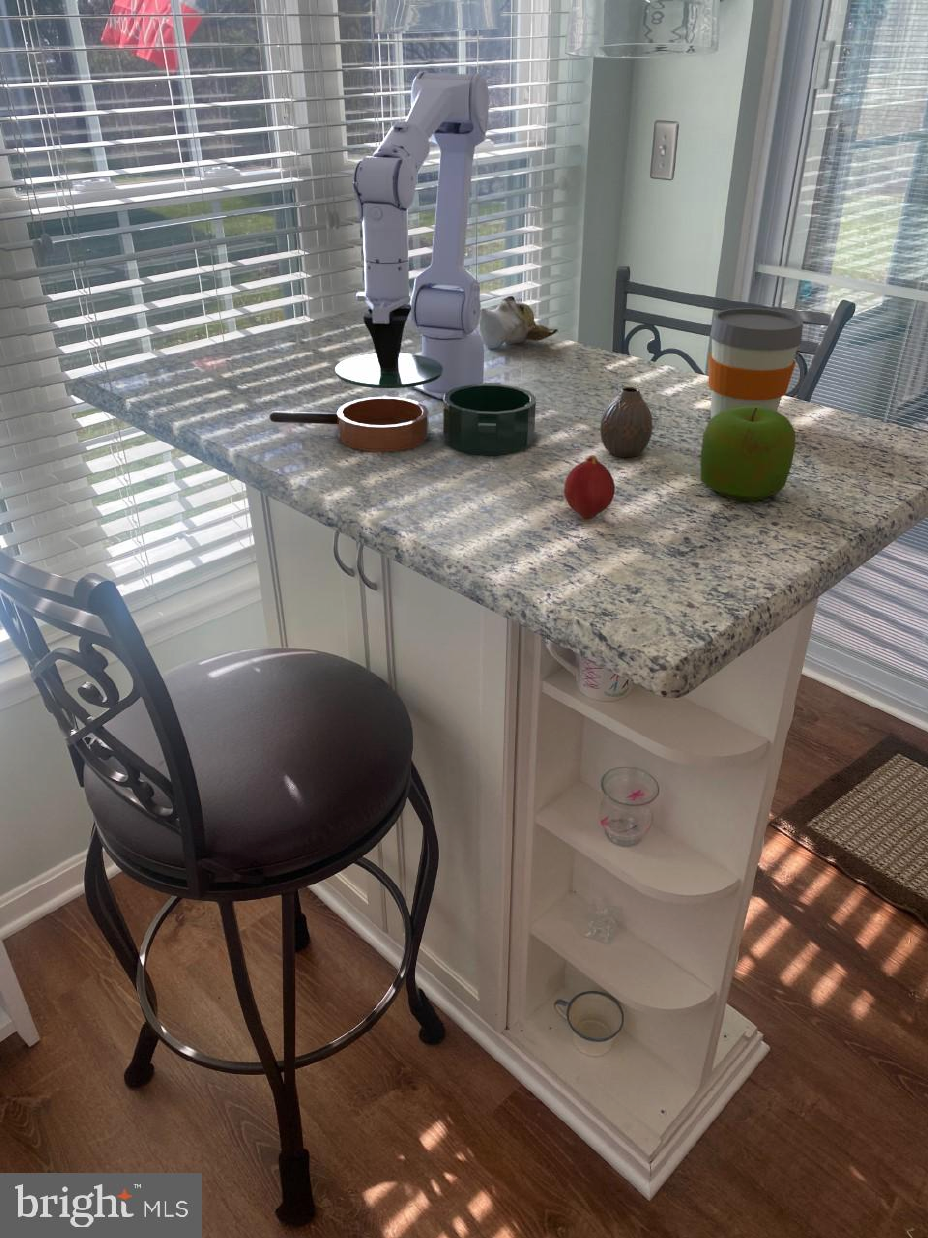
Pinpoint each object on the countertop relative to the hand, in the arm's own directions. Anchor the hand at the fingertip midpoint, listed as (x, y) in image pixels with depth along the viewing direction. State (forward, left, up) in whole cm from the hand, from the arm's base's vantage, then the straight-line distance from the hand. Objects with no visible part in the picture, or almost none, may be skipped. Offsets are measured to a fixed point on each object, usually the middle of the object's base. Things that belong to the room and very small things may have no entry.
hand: (389, 364), depth 134 cm
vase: (-22, +24, -10) cm, 34 cm away
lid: (0, 0, -1) cm, 1 cm away
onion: (-3, +36, -10) cm, 38 cm away
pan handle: (+9, -8, -9) cm, 15 cm away
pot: (-10, +9, -10) cm, 17 cm away
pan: (+1, -1, -10) cm, 10 cm away
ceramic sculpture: (-45, -26, -10) cm, 53 cm away
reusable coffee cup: (-45, +26, -10) cm, 53 cm away
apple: (-24, +42, -10) cm, 50 cm away
